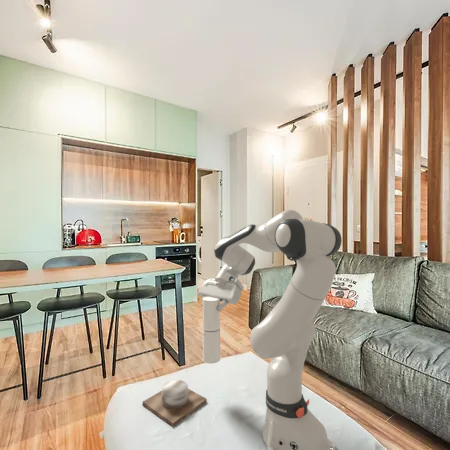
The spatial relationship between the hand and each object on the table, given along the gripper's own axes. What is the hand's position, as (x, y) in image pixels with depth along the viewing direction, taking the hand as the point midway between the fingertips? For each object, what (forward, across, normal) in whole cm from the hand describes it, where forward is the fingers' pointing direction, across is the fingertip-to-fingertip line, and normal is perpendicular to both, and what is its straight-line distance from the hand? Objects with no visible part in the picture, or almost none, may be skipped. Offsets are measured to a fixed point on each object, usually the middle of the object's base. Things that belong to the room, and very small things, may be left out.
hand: (210, 308), depth 111 cm
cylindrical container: (+14, 0, +16) cm, 21 cm away
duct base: (+34, -7, +16) cm, 38 cm away
